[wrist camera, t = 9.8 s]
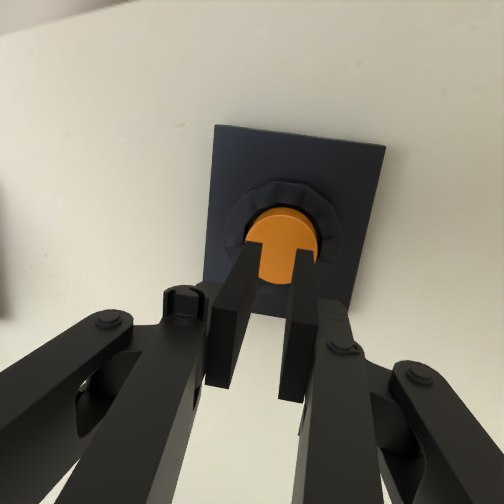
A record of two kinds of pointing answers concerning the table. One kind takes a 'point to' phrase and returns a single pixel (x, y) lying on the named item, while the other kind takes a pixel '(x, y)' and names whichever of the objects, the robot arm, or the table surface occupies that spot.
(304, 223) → the bell button
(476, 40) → the table surface
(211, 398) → the table surface
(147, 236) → the table surface
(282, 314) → the block
